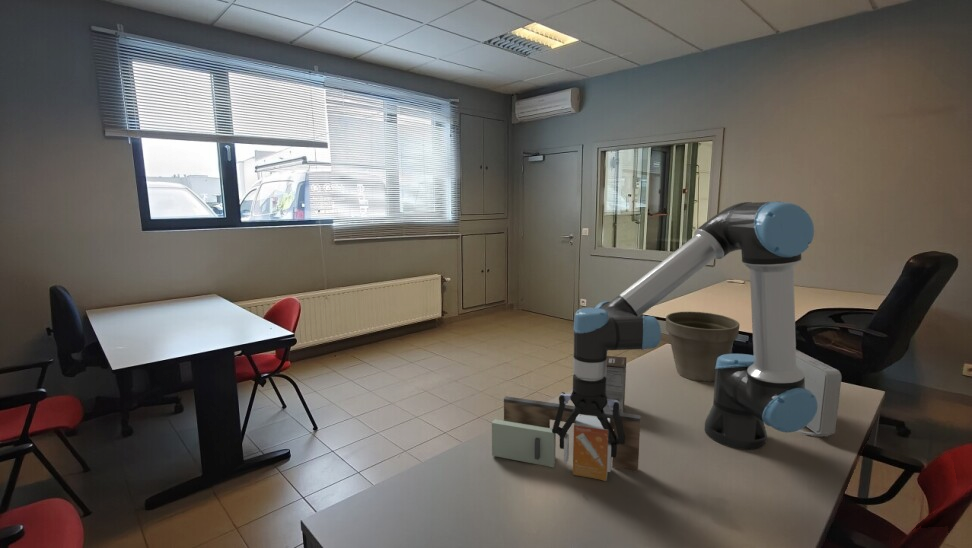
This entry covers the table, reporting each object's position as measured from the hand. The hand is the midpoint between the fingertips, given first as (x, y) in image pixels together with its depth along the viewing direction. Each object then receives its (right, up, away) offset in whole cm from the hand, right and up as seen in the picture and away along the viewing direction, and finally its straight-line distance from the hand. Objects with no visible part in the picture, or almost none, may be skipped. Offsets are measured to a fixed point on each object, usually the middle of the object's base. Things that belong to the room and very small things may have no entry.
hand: (587, 464), depth 107 cm
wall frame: (-3, -2, +8) cm, 8 cm away
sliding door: (-15, -2, +6) cm, 16 cm away
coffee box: (+16, +3, +35) cm, 38 cm away
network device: (+69, +2, +27) cm, 74 cm away
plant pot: (+56, +7, +63) cm, 84 cm away
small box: (+1, -3, +2) cm, 3 cm away
